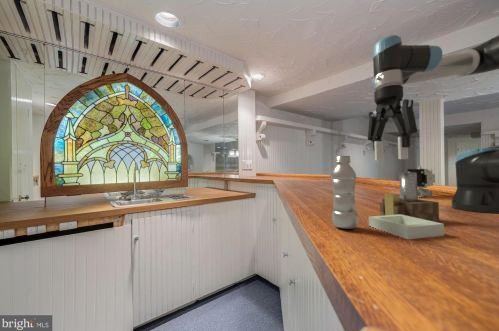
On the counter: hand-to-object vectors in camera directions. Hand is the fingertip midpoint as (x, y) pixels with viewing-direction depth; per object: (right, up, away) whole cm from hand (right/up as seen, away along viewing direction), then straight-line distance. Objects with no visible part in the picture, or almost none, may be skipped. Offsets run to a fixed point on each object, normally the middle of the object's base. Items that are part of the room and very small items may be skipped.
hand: (390, 159), depth 63 cm
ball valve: (+53, -20, +49) cm, 74 cm away
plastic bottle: (-18, -19, -8) cm, 28 cm away
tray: (-4, -19, -11) cm, 22 cm away
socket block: (+5, -19, +1) cm, 20 cm away
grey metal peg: (+7, -19, +1) cm, 20 cm away
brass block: (0, -19, -1) cm, 19 cm away
